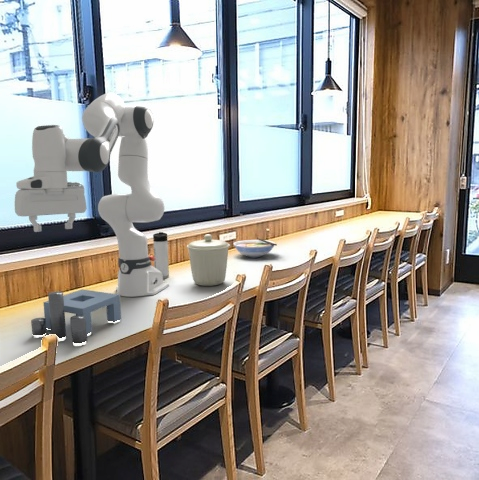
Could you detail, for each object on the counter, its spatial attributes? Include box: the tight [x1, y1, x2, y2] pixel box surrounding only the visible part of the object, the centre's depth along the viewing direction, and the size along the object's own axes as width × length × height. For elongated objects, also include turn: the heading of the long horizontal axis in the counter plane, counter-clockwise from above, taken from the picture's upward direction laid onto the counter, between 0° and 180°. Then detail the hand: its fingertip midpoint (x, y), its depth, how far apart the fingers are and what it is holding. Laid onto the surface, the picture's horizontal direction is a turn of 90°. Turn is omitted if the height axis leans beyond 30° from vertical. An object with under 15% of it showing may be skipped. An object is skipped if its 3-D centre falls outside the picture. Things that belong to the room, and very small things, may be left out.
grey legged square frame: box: [43, 289, 122, 334], centre depth 147 cm, size 16×16×9 cm
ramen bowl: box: [233, 238, 277, 258], centre depth 253 cm, size 25×23×8 cm
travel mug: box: [152, 231, 170, 280], centre depth 208 cm, size 6×7×20 cm
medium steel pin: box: [69, 314, 88, 343], centre depth 132 cm, size 4×4×8 cm
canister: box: [186, 233, 231, 287], centre depth 196 cm, size 18×18×21 cm
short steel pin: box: [30, 317, 48, 335], centre depth 139 cm, size 4×4×5 cm
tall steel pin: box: [47, 291, 67, 338], centre depth 135 cm, size 4×4×14 cm
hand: (53, 230), depth 135 cm, fingers open, 8 cm apart
